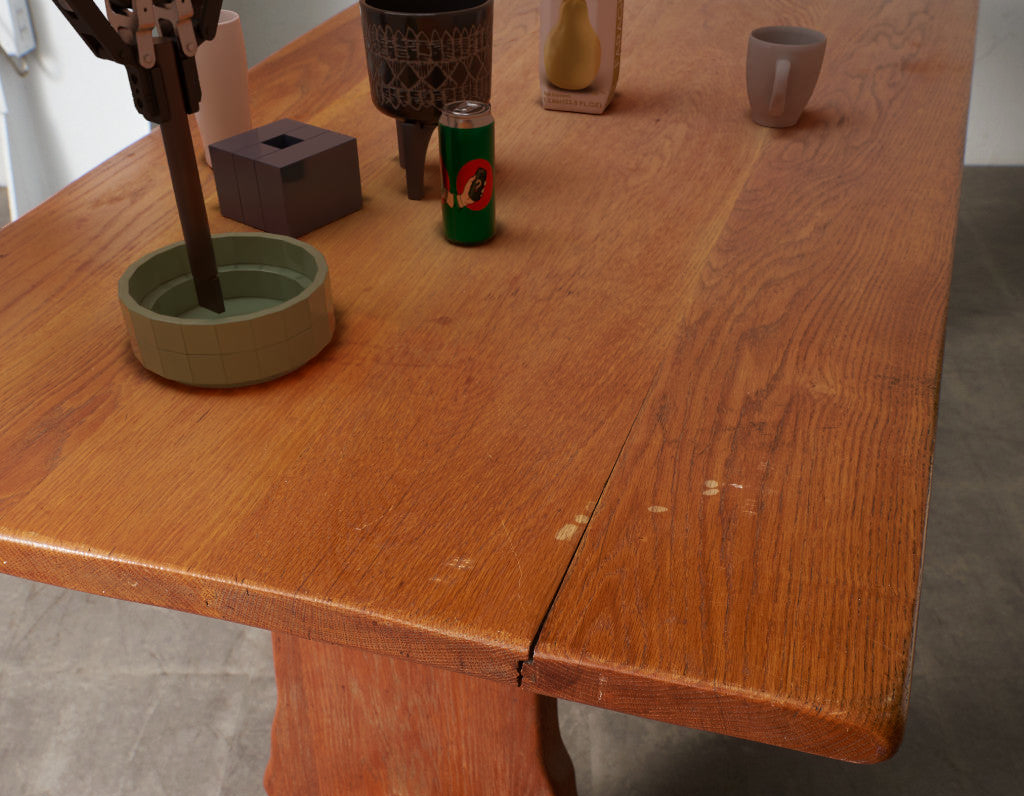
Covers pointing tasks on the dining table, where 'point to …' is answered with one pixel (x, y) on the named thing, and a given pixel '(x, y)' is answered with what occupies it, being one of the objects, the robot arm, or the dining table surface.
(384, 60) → the planter
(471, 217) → the soda can
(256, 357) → the bowl
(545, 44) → the juice carton
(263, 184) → the holder
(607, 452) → the dining table surface
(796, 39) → the mug
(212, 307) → the dark brown square rod
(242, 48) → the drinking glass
